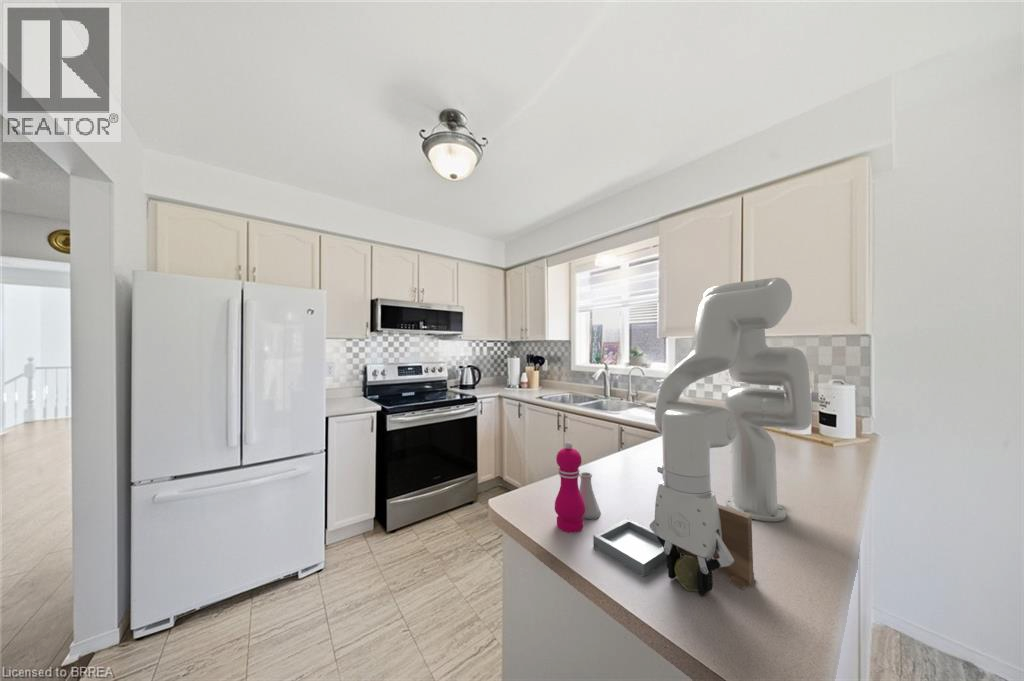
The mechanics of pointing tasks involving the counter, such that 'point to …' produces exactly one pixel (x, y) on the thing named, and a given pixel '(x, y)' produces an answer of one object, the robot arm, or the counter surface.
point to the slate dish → (632, 546)
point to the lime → (687, 572)
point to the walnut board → (735, 546)
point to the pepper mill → (569, 491)
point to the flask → (588, 497)
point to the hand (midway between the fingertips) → (689, 582)
